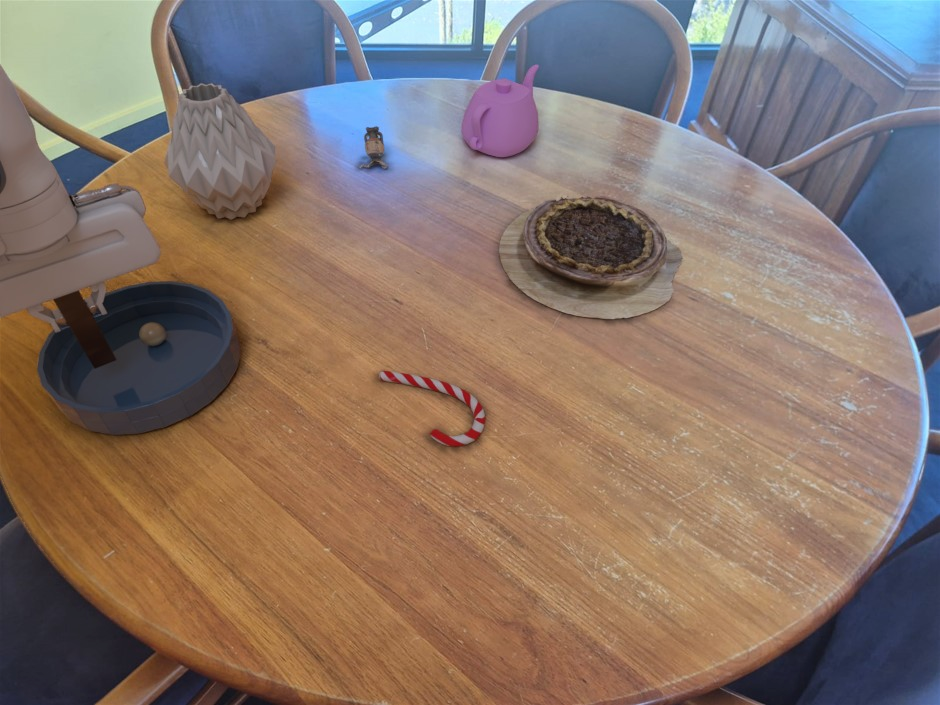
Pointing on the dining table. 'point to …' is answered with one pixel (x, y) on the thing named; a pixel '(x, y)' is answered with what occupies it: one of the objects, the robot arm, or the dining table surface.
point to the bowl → (144, 360)
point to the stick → (85, 329)
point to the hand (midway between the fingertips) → (80, 320)
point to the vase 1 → (219, 153)
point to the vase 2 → (374, 147)
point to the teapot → (502, 117)
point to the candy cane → (450, 390)
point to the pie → (590, 257)
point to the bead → (152, 334)
